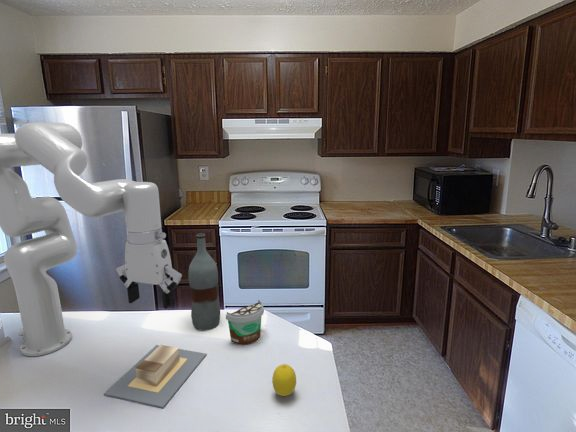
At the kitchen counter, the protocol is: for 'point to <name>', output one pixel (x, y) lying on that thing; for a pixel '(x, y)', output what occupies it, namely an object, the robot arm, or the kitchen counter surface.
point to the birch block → (157, 365)
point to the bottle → (204, 288)
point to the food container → (245, 324)
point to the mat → (165, 390)
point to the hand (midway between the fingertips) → (151, 303)
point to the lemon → (284, 380)
